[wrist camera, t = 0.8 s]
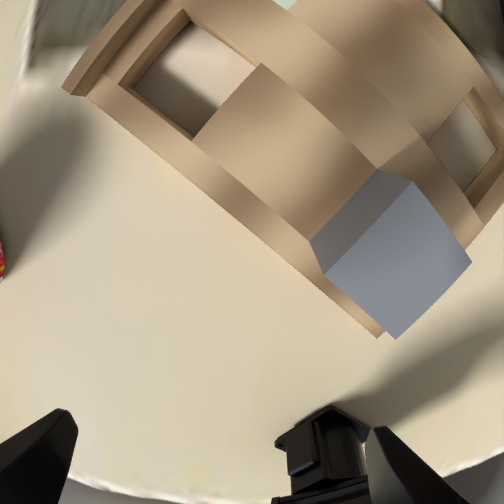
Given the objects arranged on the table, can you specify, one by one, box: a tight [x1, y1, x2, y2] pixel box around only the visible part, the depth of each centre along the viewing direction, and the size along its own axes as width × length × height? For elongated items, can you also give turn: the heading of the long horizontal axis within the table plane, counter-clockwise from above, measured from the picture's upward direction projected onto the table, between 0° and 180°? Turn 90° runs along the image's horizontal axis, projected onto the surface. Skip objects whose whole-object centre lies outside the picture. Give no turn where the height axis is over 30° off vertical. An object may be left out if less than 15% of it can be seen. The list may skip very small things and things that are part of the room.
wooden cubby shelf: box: [61, 0, 504, 338], centre depth 14 cm, size 22×16×4 cm
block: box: [309, 169, 472, 339], centre depth 14 cm, size 5×5×4 cm
